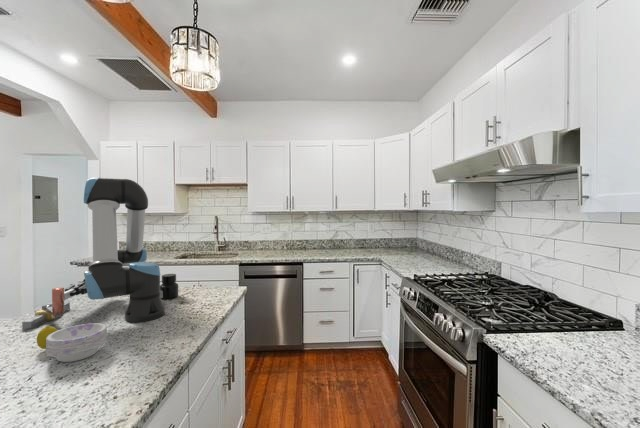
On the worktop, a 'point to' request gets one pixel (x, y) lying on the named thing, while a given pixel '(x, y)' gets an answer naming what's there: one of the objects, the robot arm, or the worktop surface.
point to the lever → (56, 303)
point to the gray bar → (41, 318)
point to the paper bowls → (76, 341)
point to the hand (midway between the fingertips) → (62, 296)
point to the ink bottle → (168, 287)
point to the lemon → (44, 336)
